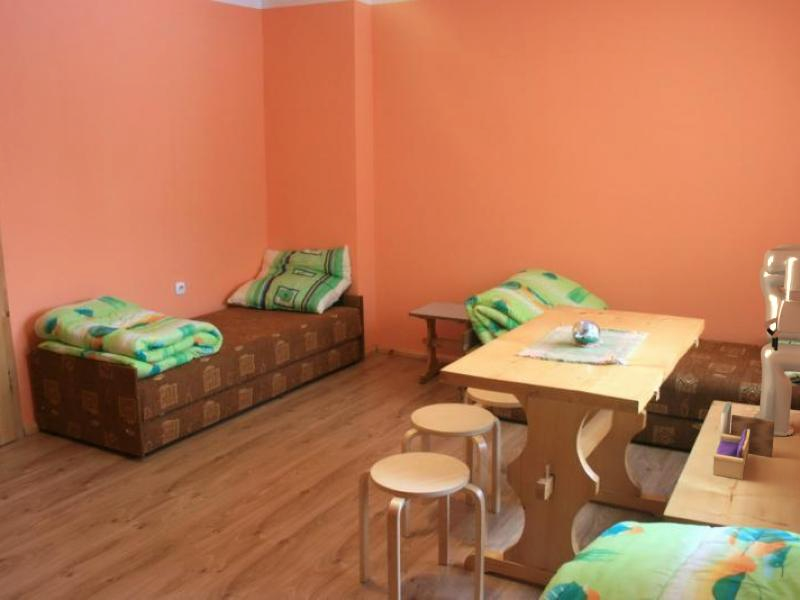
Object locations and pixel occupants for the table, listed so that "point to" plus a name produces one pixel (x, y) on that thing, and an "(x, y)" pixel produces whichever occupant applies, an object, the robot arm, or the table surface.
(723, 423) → the grey panel
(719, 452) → the toy sofa
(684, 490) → the table surface
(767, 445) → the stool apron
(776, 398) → the robot arm
